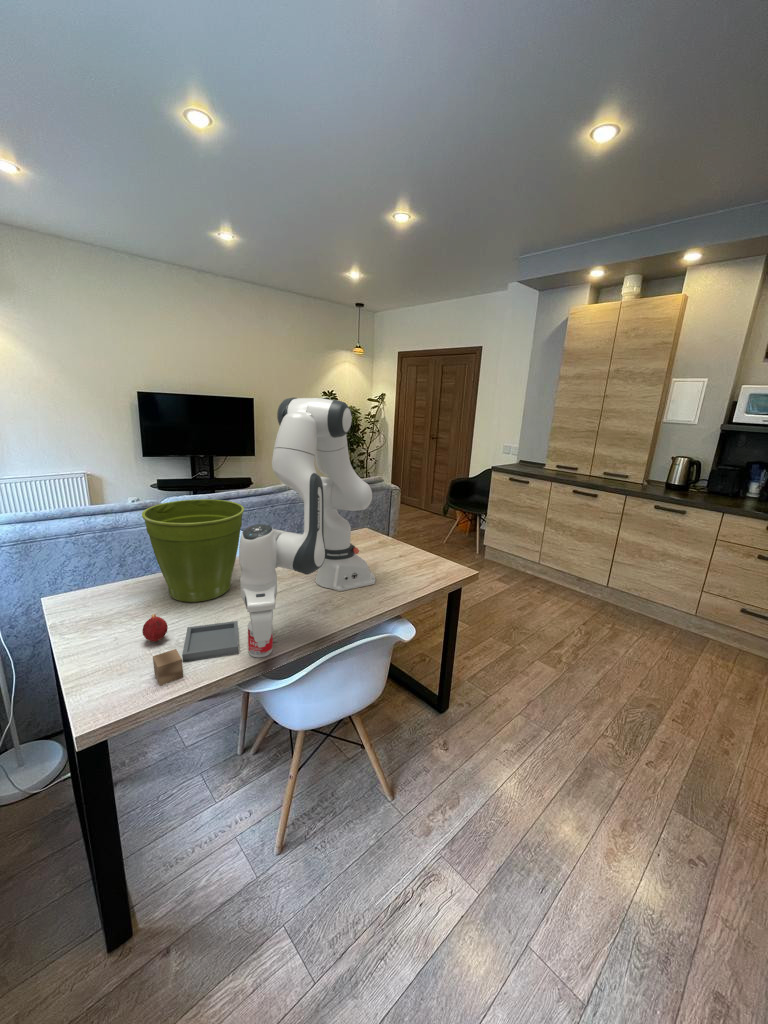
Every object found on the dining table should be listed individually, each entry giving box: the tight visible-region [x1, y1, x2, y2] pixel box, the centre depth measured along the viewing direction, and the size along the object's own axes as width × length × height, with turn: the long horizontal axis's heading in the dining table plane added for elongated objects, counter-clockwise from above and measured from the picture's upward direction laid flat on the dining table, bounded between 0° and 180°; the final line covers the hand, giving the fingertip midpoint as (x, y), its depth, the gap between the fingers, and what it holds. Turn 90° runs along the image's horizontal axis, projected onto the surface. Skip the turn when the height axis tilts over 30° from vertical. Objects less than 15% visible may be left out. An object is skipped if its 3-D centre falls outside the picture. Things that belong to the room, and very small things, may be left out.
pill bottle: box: [247, 617, 274, 658], centre depth 102 cm, size 6×6×11 cm
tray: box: [181, 620, 239, 663], centre depth 106 cm, size 13×13×2 cm
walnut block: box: [152, 648, 184, 687], centre depth 92 cm, size 5×5×5 cm
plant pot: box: [141, 498, 245, 603], centre depth 131 cm, size 30×30×29 cm
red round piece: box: [141, 613, 169, 643], centre depth 105 cm, size 6×6×8 cm
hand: (260, 637), depth 103 cm, fingers closed on pill bottle, 6 cm apart
